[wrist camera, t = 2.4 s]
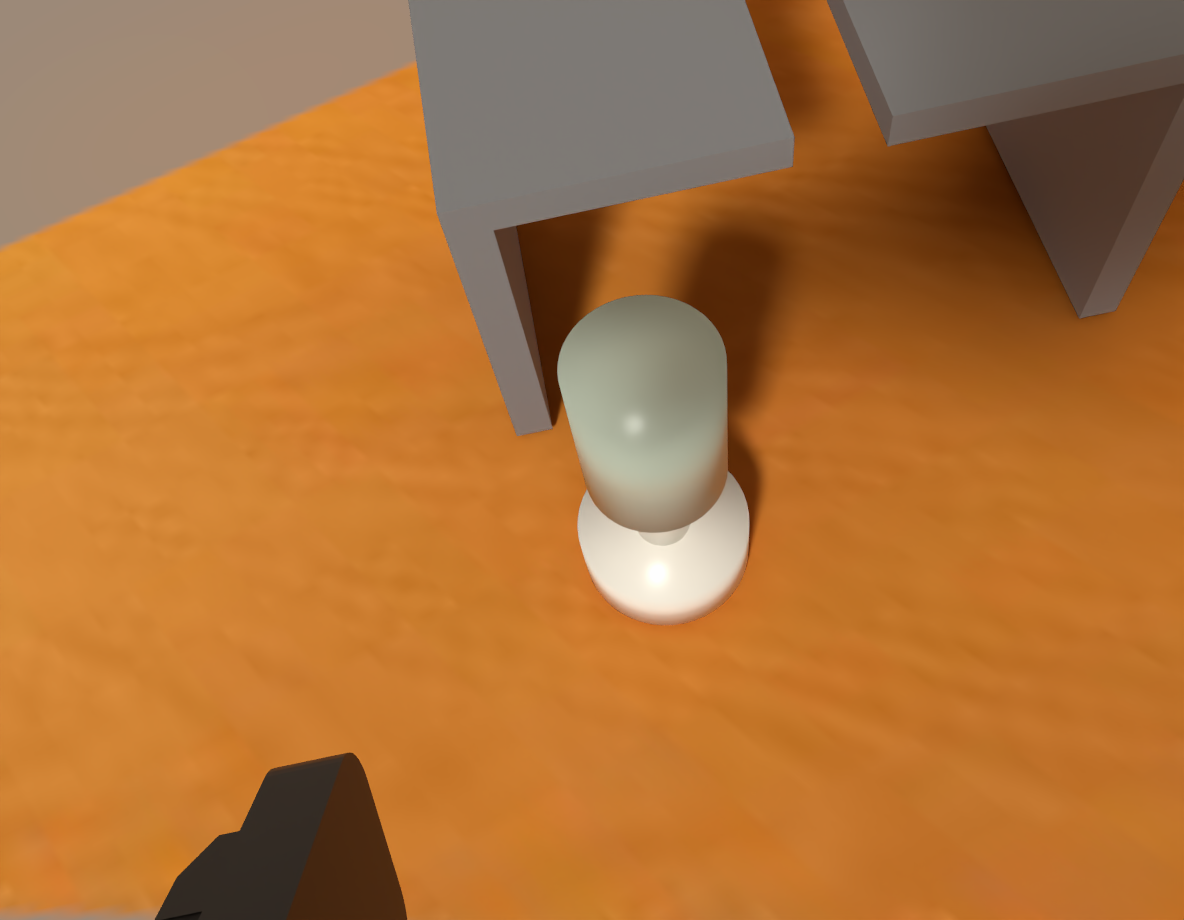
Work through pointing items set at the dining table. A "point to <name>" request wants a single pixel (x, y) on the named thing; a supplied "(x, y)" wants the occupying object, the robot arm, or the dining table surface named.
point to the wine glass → (654, 459)
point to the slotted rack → (784, 123)
